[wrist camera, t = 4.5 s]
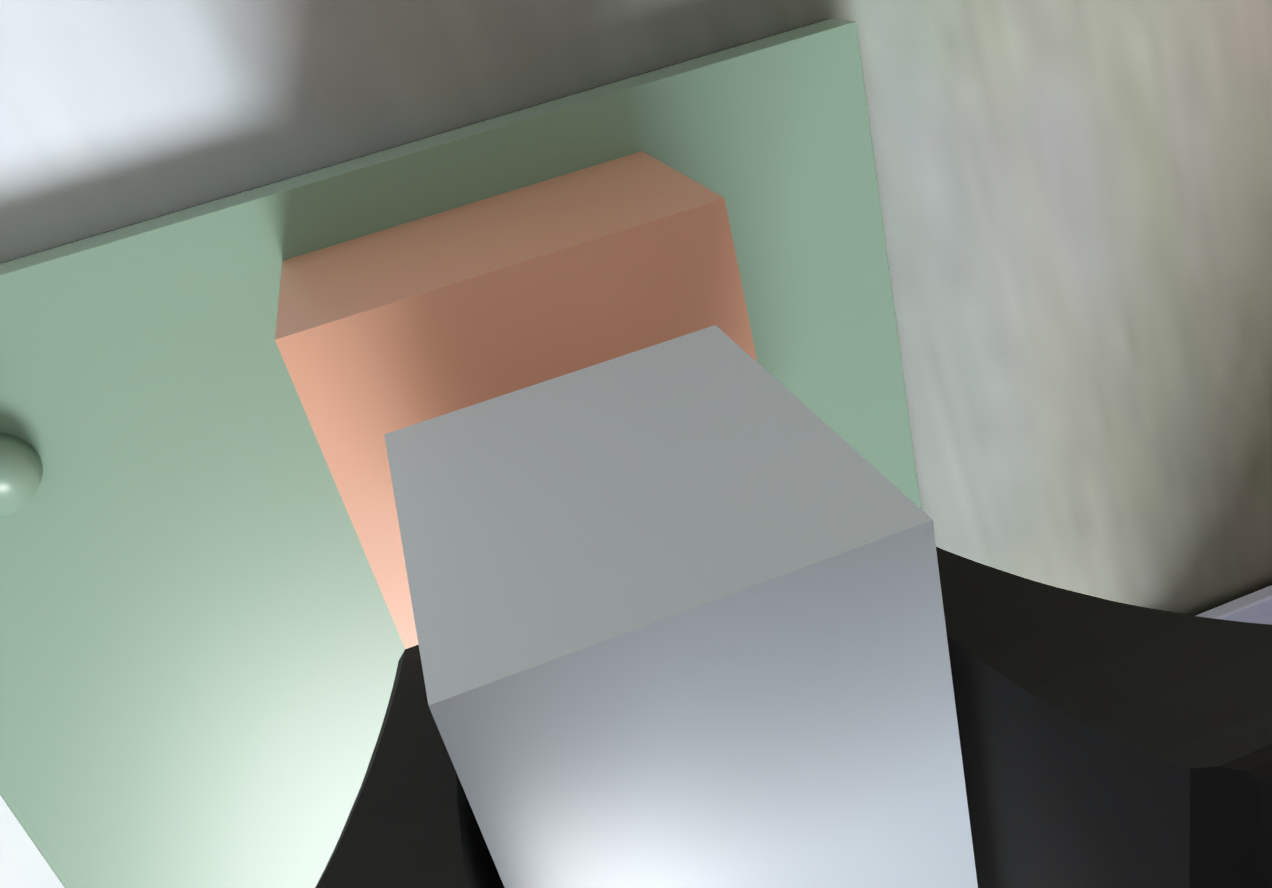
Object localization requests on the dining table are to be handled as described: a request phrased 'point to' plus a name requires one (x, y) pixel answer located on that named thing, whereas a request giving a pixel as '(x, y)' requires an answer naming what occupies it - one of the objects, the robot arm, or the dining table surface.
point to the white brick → (682, 634)
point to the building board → (299, 475)
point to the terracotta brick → (494, 316)
